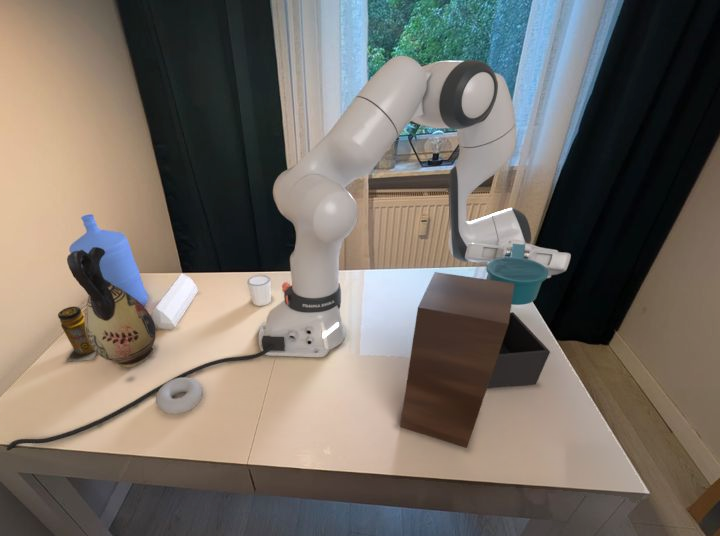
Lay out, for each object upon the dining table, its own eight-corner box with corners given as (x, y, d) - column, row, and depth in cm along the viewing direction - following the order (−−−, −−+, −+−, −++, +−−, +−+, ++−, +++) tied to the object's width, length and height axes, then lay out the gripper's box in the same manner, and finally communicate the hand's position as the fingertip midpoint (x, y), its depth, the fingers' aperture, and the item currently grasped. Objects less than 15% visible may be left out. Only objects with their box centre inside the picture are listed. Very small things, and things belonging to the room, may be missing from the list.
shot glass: (274, 294, 116) (271, 274, 112) (271, 306, 111) (268, 285, 107) (252, 295, 117) (249, 274, 113) (248, 307, 112) (245, 286, 108)
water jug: (156, 291, 124) (126, 205, 107) (137, 318, 112) (100, 225, 95) (111, 293, 126) (75, 208, 109) (88, 319, 114) (43, 228, 97)
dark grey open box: (466, 390, 78) (476, 357, 73) (442, 348, 90) (449, 317, 84) (535, 384, 78) (550, 351, 73) (502, 343, 89) (513, 312, 84)
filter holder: (489, 256, 85) (494, 234, 82) (540, 261, 81) (548, 239, 78) (477, 300, 71) (483, 277, 68) (539, 310, 67) (548, 285, 64)
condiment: (105, 340, 104) (87, 303, 97) (93, 359, 98) (73, 321, 90) (79, 342, 104) (59, 305, 97) (66, 362, 98) (43, 324, 90)
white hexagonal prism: (175, 321, 101) (203, 279, 120) (149, 310, 100) (181, 269, 119) (169, 340, 106) (196, 296, 124) (144, 330, 105) (176, 287, 123)
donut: (148, 408, 82) (181, 424, 78) (143, 397, 80) (176, 412, 75) (181, 380, 89) (213, 393, 84) (177, 369, 86) (209, 382, 82)
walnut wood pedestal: (414, 386, 80) (434, 271, 64) (475, 403, 76) (514, 283, 59) (399, 427, 72) (417, 307, 56) (466, 448, 67) (508, 323, 51)
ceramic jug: (112, 341, 103) (62, 236, 85) (168, 335, 104) (130, 228, 85) (91, 384, 90) (26, 269, 72) (155, 376, 90) (107, 260, 72)
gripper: (468, 241, 94) (467, 232, 82) (565, 251, 86) (580, 243, 74) (462, 267, 96) (460, 261, 83) (557, 279, 87) (570, 275, 75)
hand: (517, 253), depth 78 cm, fingers closed on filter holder, 2 cm apart
